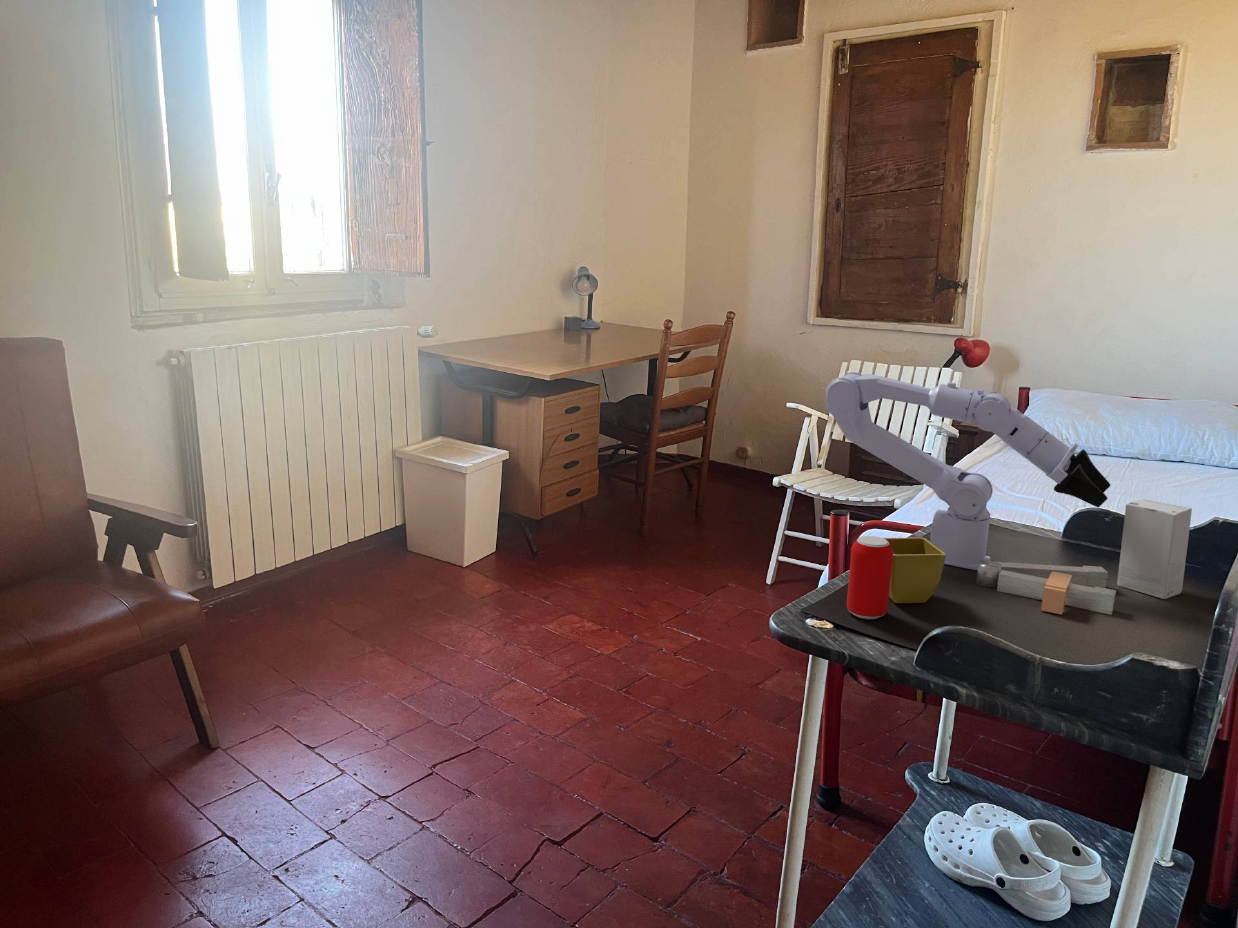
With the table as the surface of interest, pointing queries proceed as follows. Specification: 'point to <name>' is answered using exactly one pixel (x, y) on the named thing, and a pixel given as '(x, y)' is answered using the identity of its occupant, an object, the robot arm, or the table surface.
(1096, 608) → the tongs lower arm
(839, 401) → the robot arm
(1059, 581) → the block
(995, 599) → the table surface
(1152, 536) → the skincare box
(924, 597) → the flower pot
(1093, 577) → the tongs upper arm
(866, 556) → the beverage can
